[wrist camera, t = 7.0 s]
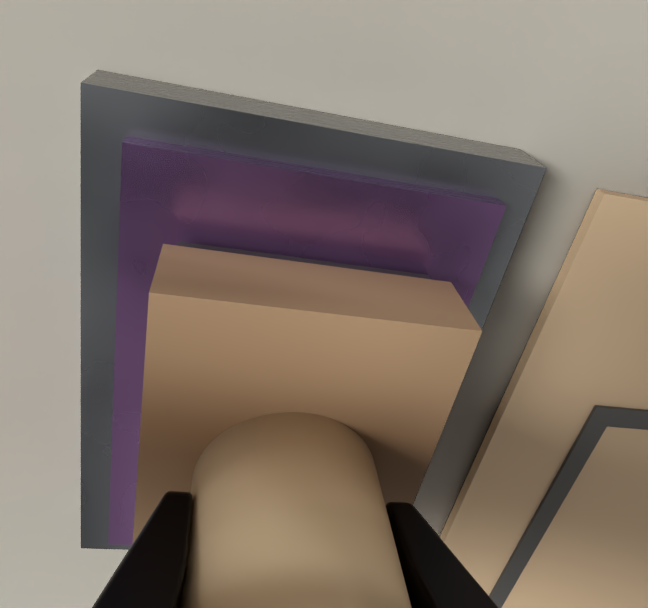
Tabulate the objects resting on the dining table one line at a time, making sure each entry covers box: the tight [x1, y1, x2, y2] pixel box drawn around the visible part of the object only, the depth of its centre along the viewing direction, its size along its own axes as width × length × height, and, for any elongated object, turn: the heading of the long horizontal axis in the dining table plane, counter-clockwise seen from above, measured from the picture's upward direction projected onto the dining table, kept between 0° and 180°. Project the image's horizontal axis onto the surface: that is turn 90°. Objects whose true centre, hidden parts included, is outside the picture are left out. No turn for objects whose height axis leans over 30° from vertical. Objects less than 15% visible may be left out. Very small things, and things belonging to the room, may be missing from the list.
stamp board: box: [440, 189, 648, 608], centre depth 19 cm, size 22×14×1 cm, turn 168°
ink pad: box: [81, 70, 546, 550], centre depth 13 cm, size 11×8×2 cm
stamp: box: [133, 241, 482, 608], centre depth 9 cm, size 7×5×8 cm
